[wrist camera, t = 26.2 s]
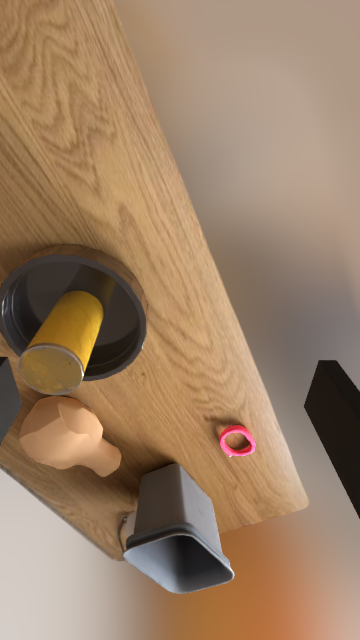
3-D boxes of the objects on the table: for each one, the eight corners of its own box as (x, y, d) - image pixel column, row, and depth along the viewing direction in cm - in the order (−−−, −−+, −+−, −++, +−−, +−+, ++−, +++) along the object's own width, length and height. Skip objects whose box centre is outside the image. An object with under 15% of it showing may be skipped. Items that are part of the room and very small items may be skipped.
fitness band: (212, 432, 57) (213, 439, 56) (240, 419, 56) (242, 426, 55) (232, 455, 61) (233, 462, 60) (258, 444, 60) (261, 451, 58)
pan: (148, 246, 39) (146, 258, 35) (147, 362, 49) (146, 382, 45) (-4, 240, 38) (-23, 251, 34) (26, 360, 47) (13, 380, 43)
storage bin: (227, 502, 69) (241, 581, 57) (167, 522, 72) (167, 601, 60) (183, 448, 59) (188, 529, 47) (115, 474, 62) (103, 557, 50)
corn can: (102, 290, 41) (79, 346, 30) (105, 331, 45) (86, 395, 33) (53, 289, 41) (10, 345, 30) (59, 330, 44) (24, 395, 33)
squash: (63, 372, 49) (60, 415, 42) (135, 431, 60) (142, 473, 53) (10, 408, 50) (-3, 457, 43) (90, 459, 61) (91, 504, 54)
